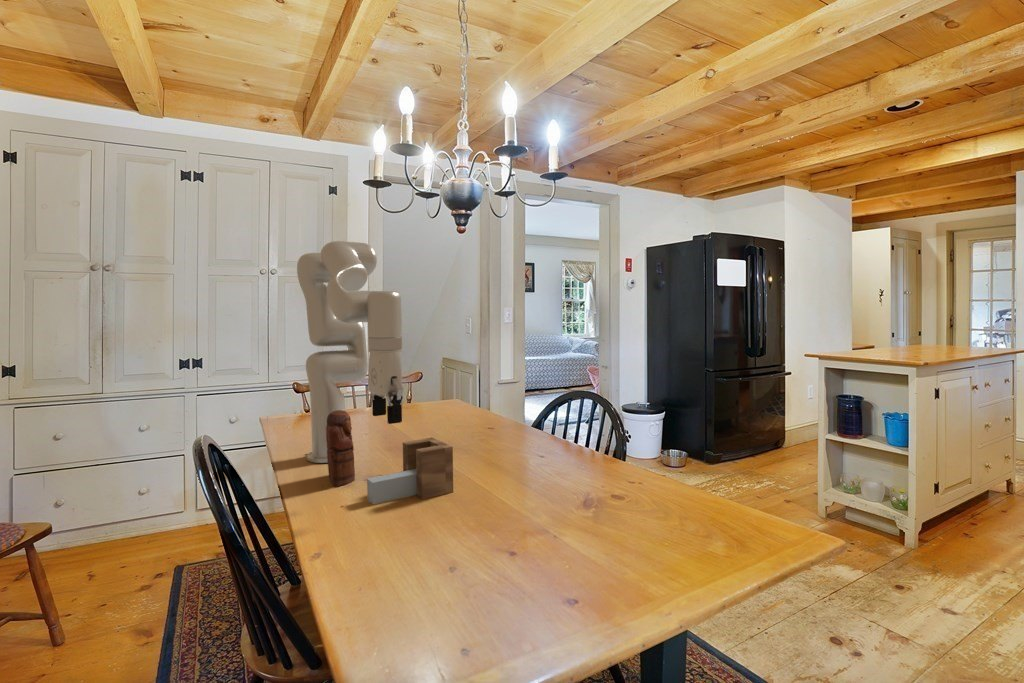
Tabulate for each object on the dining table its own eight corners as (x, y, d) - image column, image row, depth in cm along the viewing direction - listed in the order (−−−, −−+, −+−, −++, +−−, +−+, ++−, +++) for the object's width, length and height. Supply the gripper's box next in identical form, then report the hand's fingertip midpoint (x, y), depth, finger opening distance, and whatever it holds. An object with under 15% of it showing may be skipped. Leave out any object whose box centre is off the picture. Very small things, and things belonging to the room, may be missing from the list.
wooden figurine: (357, 484, 129) (355, 413, 128) (330, 488, 126) (328, 415, 125) (351, 471, 140) (349, 405, 139) (326, 474, 137) (324, 407, 136)
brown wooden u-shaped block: (403, 486, 127) (402, 442, 127) (433, 479, 132) (432, 437, 131) (422, 499, 118) (421, 452, 118) (453, 492, 123) (452, 446, 122)
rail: (367, 499, 118) (366, 474, 118) (425, 486, 127) (425, 462, 126) (373, 504, 115) (372, 478, 115) (432, 490, 124) (431, 466, 123)
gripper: (357, 343, 123) (358, 414, 124) (382, 348, 108) (384, 428, 110) (387, 342, 127) (388, 410, 128) (416, 346, 113) (417, 424, 114)
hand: (386, 419), depth 119 cm, fingers open, 9 cm apart
